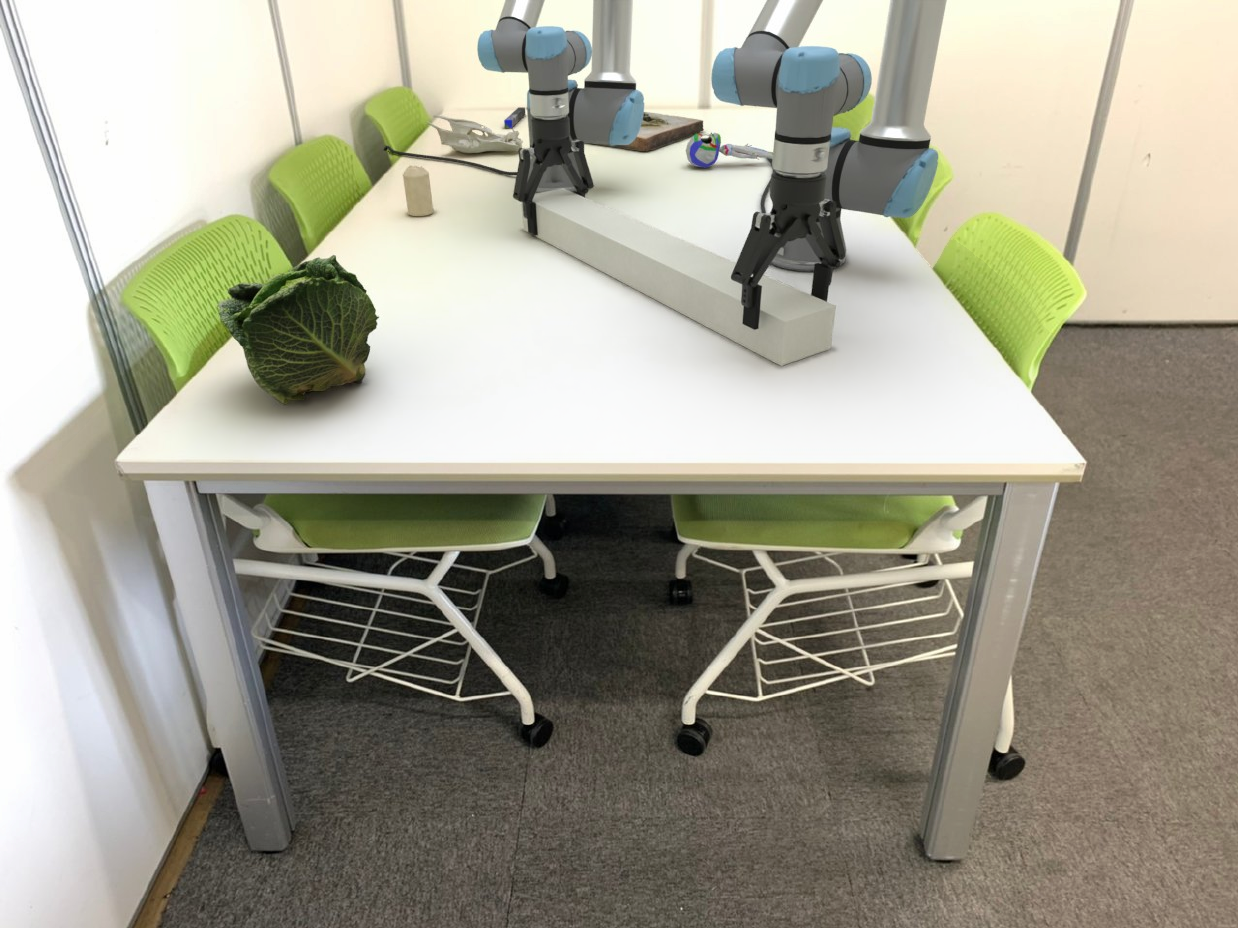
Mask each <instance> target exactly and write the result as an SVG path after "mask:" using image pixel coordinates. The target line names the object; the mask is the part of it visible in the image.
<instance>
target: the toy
mask: <svg viewBox="0 0 1238 928" xmlns="http://www.w3.org/2000/svg"><path fill="white" fill-rule="evenodd" d="M704 136H707V137H704ZM721 139H722V137H721V135H720V134H719V133H717V132H713V133H712V132H710V133H696V134H694V135H692V136H691V137H690V139H689V141H688V142H687V145H686V148H685V154H686V159H687V161H688V163H690V164H691V165H692V166H695V167H698V168H709V167H711V166H714V164H715V163H716V162H717V161H718V158H719V154H722V155H724V156H725V157H730V156H731V157H734V158H736V159H737V158H738V159H751V160H755V159H756V160H760V159H762V158H763V159H767V158H770V159H773V151H768V150H766V149H763V148H757V147H754V146H752V145H749V143H746V144H745V145H737V144H732V143H726V144H722V140H721ZM721 144H722V145H721Z"/></svg>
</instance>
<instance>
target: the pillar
mask: <svg viewBox="0 0 1238 928" xmlns="http://www.w3.org/2000/svg"><path fill="white" fill-rule="evenodd" d="M526 115H527V114H526V107H517V108H516V109H514V111H513V112H511V113H510V114H509V115H508V116H507V117H506V118H505V119H504V120H503V123H504V125H503V126H504V129H512V128H513V127H514V126H516V125H517V124H518V123H519V122H520V121H521V120H522V119H523V118H524V117H525V116H526Z"/></svg>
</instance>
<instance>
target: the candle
mask: <svg viewBox="0 0 1238 928" xmlns="http://www.w3.org/2000/svg"><path fill="white" fill-rule="evenodd" d="M402 179H403V186H404V194H405V200H406V207H407V213H408V215H410V216H413V217H425V216H430V215H432V214H433V213H434V205H433V203H434V202H433V197H432V188H431V179H430V173H429V171H428V170H427V169H425V167H423V166H417V165H409V166H407V167H406V169H405V170H404V171H403V173H402Z"/></svg>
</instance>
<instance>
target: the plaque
mask: <svg viewBox="0 0 1238 928" xmlns="http://www.w3.org/2000/svg"><path fill="white" fill-rule="evenodd" d="M704 130H705V129H704V120H702V119H698V118H693V117H685V116H679V115H669V114H663V113H659V112H650V111H644V114H643V120H642V124H641V127H640V130H639V133H638V135H637V137H636V138H635V140H634V141H633V142H632V143H630V144H628V145H613V146H611V145H607V144H597V146H598V145H599V146H607V147H612V148H620V149H625V150H632V151H640V152H648V151H654V150H656V149H659V148H662V147H663V146H664V147H665V146H667V145H670V144H672V143H676V142H680V141H682V140H684V139H687V138H692V137H693V136H694V135H695V134H699V133H700V132H704ZM591 144H593V143H591ZM593 145H594V144H593Z"/></svg>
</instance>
